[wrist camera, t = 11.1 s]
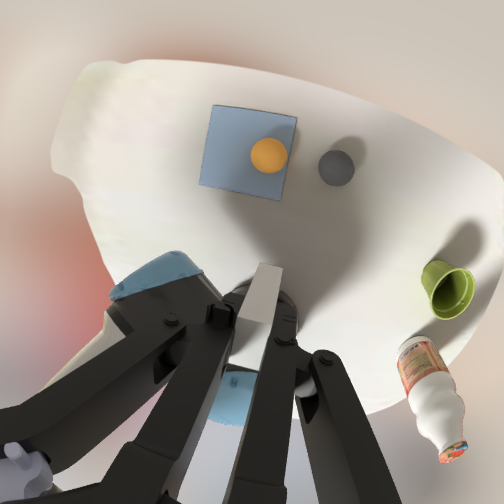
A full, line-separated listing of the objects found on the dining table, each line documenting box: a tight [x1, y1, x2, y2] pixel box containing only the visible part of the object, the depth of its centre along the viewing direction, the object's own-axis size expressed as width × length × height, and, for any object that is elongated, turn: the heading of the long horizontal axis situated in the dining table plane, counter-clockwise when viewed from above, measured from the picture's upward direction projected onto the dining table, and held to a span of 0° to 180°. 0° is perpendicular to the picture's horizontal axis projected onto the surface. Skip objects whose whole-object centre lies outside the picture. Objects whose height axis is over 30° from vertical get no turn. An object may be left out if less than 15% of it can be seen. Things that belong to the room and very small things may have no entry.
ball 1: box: [251, 138, 287, 173], centre depth 41 cm, size 6×6×6 cm
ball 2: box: [318, 151, 354, 186], centre depth 39 cm, size 6×6×6 cm
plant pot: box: [421, 260, 475, 320], centre depth 40 cm, size 9×9×9 cm
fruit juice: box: [395, 336, 468, 463], centre depth 36 cm, size 9×9×28 cm
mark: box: [199, 105, 297, 201], centre depth 43 cm, size 14×14×1 cm
